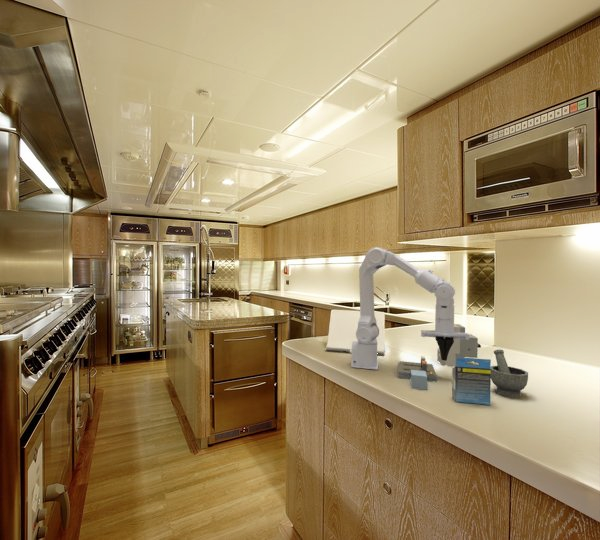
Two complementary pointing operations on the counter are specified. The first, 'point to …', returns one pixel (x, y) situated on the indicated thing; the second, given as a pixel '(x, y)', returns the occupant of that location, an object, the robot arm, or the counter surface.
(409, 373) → the panel
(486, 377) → the label tape cartridge
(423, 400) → the counter surface
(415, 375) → the cap
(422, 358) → the plain lever
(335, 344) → the tablet stand
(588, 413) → the counter surface
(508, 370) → the mortar and pestle
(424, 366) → the tagged lever
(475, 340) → the circuit breaker
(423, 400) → the counter surface
